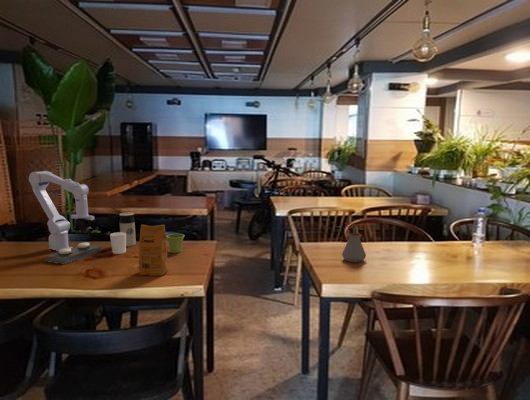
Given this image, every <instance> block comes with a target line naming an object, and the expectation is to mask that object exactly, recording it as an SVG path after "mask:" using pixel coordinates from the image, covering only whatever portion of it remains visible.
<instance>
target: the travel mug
mask: <svg viewBox="0 0 530 400" xmlns="http://www.w3.org/2000/svg"><path fill="white" fill-rule="evenodd" d="M134 215H135V214H134V212H122V213H119V216H120V218H119V222H118V223H119V232H124V233H126V248H127V247H134V246H135V245H136V244H137V240H136V225H135V218H134Z"/></svg>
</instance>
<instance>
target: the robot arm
mask: <svg viewBox="0 0 530 400" xmlns="http://www.w3.org/2000/svg"><path fill="white" fill-rule="evenodd" d="M28 182H29V183H30V185H31V189H32V192H33V194H34V195H35V197H36V199H37V200H38V202H39V204H40V206H41V208H42V209H43V211H44V213H45V215H46V216H47V218H48V221H47V228H48V231H49V233H50V234H49V236H48V247H49V248H48V249H53V250H56V251H55V252H59V250H60V249H64V248H73V247H74V246H73V247H72V246H69V234H68V233H69V231H70V228H71V223H70V222H69V220H67V219H66V218H65V216H63V215H62V214H61V215H60V213H59V212H58V209H57V208H56V206H55V205H54V202H53V201H52V199H51V197H50V196H49V194H48V192H47V190H46V189H47V187H48V186H49V184H50V183H52V184H53V183H54V184H57V185H59V186H61V188H62V189H63V190H66V191H67V192H70V193H72V195H73V197H74V199H75V201H74V202H75V211H76V214H71V215H70V219H75V223H76V224H77V226H78V227H79V229H80V232H81V234H85V233H87V230H88V226H89V223H90V221H94V220H95V215H90V214H89V206H88V205H89V204H88V194H89V192H90V189H89V186H88V185H87V184H85V183H81V184H80V182H76V181H74V180H72V179H71V178H66V179H64V178H63V177H60V176H58V175H56V174H54V173H53V172H52V171H48V170H43V171H32V172H30V173H29V176H28Z"/></svg>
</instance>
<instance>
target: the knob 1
mask: <svg viewBox="0 0 530 400" xmlns="http://www.w3.org/2000/svg"><path fill="white" fill-rule="evenodd" d="M58 252H59V254H61V255H63V256H66V255H69V253H71V248H64V249H60V250H59V251H58Z"/></svg>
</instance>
